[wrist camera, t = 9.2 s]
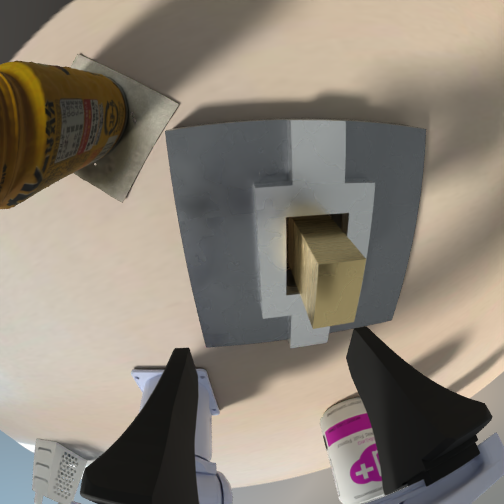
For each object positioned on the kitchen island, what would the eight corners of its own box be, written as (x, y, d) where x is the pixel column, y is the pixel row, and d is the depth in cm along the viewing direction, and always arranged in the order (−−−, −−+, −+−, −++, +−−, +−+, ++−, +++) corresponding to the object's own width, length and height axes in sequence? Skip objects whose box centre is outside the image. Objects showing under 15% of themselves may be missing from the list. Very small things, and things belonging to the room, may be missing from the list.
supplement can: (326, 400, 31) (356, 502, 18) (380, 390, 32) (417, 479, 19) (312, 426, 35) (333, 512, 22) (360, 417, 36) (387, 495, 22)
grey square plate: (382, 306, 24) (391, 320, 22) (207, 330, 23) (206, 347, 21) (409, 125, 16) (425, 129, 14) (172, 128, 15) (165, 131, 13)
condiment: (78, 54, 12) (-60, 35, 1) (179, 104, 14) (83, 95, 4) (36, 148, 14) (-92, 212, 4) (124, 201, 17) (24, 325, 6)
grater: (56, 442, 39) (42, 510, 21) (87, 460, 44) (78, 523, 26) (36, 438, 40) (22, 499, 22) (64, 456, 45) (54, 513, 27)
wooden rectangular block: (319, 258, 20) (353, 321, 14) (287, 261, 20) (312, 328, 14) (321, 207, 18) (366, 259, 12) (287, 210, 18) (318, 264, 12)
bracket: (346, 329, 22) (350, 338, 21) (262, 342, 21) (264, 351, 20) (369, 122, 14) (377, 123, 13) (249, 121, 13) (250, 121, 13)
